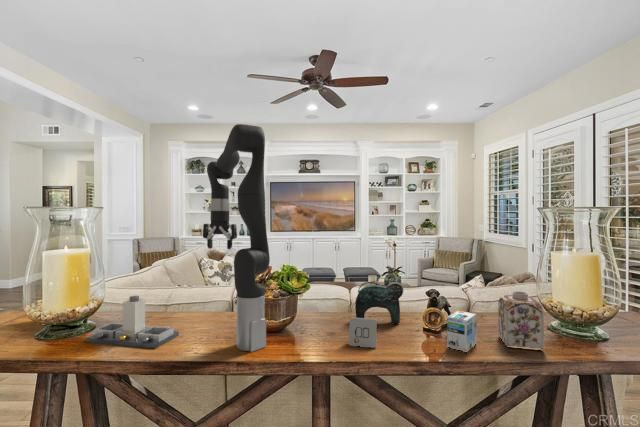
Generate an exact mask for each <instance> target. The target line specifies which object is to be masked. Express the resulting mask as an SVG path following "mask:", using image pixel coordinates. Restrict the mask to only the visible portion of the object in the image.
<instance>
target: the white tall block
mask: <svg viewBox="0 0 640 427" xmlns="http://www.w3.org/2000/svg"><path fill="white" fill-rule="evenodd" d="M122 322H123V332H133V333H136V332H138V331H140V330H142V329H144V328H145V324H146V299H145V298H144V299H143V298H142V299H140V296H139V295H131V296H129V299H128V300H125V301H122Z"/></svg>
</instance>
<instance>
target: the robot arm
mask: <svg viewBox="0 0 640 427" xmlns="http://www.w3.org/2000/svg"><path fill="white" fill-rule="evenodd" d="M265 136H266V135H265V131H264V129H263V128H262V127H261V126H257V125H253V124H252V125H251V124H250V125H249V124H242V123H241V124H240V123H238V124H235V125H234V126H233V127H232V128H231V130H230V132H229V135H228V137H227V140H226V143H225V146H224V150H223V151H222V153H221V154H220V155H219V157H218V158H217V161H210V162H209V163H208V164H207V166H206V173H207V176H208V180H209V184H210V189H211V190H210V192H211V194H210V195H211V199H210V223H204V224H203V226H202V227H203V228H202V238H203V239H206V243H207V244H206V246H207V248H208V249H209V250H210V249H213V242H214V241H213V238H214V236H216V235H223V236H225V238H226V239H227V243H226V249H227V250H231V249H232V248H233V240H235V239H237V238H238V233H237V232H238V231H237V229H238V228H237V224H236V223H233V224H230V209H231V207H230V199H229V197H230V193H229V192H230V190H229V186H228V185H226V184H222V183H220V182H219V181H218V180H230V179H231V178H232V177H233V175H234V169H235V168H236V167H237V165H238V164H239V162H240V157H241V156H240V153H239V152H241V153H250V154H251V155H252V156H251V163H250V166H249V169H248V170H247V173H246V175H245V176H244V178H243V179H242V180H241V183H240V185H239V186H238V189H237V209H238V212H239V215H240V218H241V219H242V221H243V222H244V224H245V226H246V228H247V230H248V233H249V239H250V240H249V241H250V247H246V248H245V247H244V248H241V249H239V250H237V251H236V253H235V256H234V258H233V273H234V274H233V275H234V288H235V290H236V348H237V349H238V350H240V351H243V352H244V351H245V352H250V353H251V352H252V353H253V352H255V351H258V350H261V349H263V348H266V347H267V318H265V301H266V300H265V294H266V293H265V287H264V285H262V284H259V283H257V282H256V275H260V274H264V273H265V272H266V271H267V270H268V269H269V266H270V263H271V262H270V261H271V260H270V259H271V257H270V250H269V241H268V234H267V223H266V222H267V221H266V220H267V219H266V193H265V192H266V191H265V190H266V188H265V152H266V151H265V148H266V144H265V143H266V137H265ZM210 229H211V230H210ZM229 229H230V230H229ZM230 231H231V232H230Z"/></svg>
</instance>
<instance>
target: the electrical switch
mask: <svg viewBox="0 0 640 427" xmlns="http://www.w3.org/2000/svg"><path fill="white" fill-rule="evenodd" d="M377 324H378V322H377V319H375V318H366V317H364V318H356V317H350V318H349V329H348V345H349V346H350V347H357V346H360V348H369V347H370V349H371V348H372V349H375V348H377Z"/></svg>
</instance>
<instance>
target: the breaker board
mask: <svg viewBox="0 0 640 427" xmlns="http://www.w3.org/2000/svg"><path fill="white" fill-rule="evenodd" d="M179 333H180V332H179V331H178V330H174V327H171V325H163V326H152V325H149V324H147V323H145V328H144V329H142V330H140V331H138V332H136V333H133V332H123V321H122V322H120V323H119V322H111V323H107V324H105V325H102V326H100V327H97V328H95V329H93V335H90V336H88V337H86V338H85V339H86V341H85V342H86V343H91V344H100V345H102V344H103V345H110V346H122V347H129V348H130V347H131V348H132V347H133V348H143V349H151V350H156V349H157V348H159V347H161V346H163V345H164V344H167V343H168V342H170V341H172V340H173V339H175V338H177V337H178V336H180V334H179Z"/></svg>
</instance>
